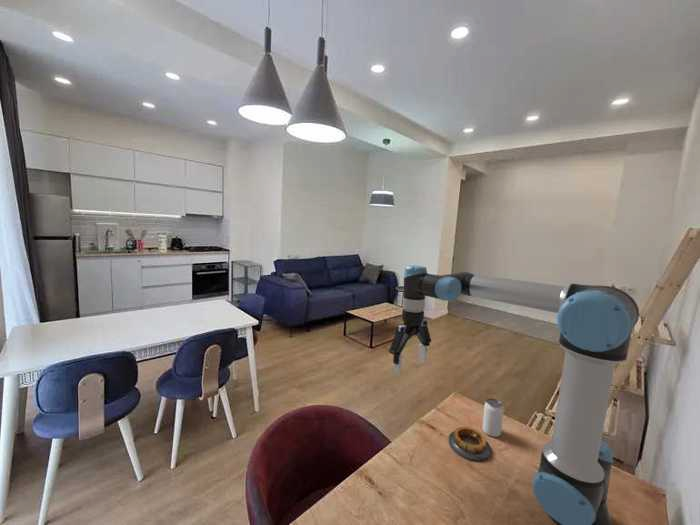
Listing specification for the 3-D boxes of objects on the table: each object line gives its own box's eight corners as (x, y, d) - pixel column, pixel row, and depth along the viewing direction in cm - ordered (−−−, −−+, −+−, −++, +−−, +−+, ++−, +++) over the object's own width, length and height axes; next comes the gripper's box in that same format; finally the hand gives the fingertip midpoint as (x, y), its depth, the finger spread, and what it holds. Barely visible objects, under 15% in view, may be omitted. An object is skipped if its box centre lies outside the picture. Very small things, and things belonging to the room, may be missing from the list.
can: (501, 439, 107) (504, 409, 106) (482, 434, 110) (484, 404, 109) (500, 429, 113) (503, 400, 112) (482, 424, 116) (485, 396, 115)
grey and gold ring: (497, 447, 103) (498, 438, 103) (479, 468, 94) (480, 458, 94) (460, 427, 114) (461, 418, 113) (441, 443, 105) (441, 434, 104)
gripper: (426, 302, 113) (423, 354, 115) (380, 312, 97) (377, 372, 99) (443, 306, 107) (439, 361, 109) (397, 318, 91) (394, 381, 94)
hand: (410, 366), depth 104 cm, fingers open, 13 cm apart
